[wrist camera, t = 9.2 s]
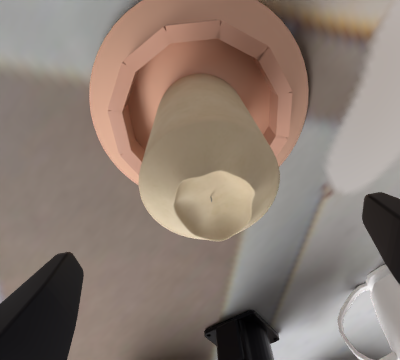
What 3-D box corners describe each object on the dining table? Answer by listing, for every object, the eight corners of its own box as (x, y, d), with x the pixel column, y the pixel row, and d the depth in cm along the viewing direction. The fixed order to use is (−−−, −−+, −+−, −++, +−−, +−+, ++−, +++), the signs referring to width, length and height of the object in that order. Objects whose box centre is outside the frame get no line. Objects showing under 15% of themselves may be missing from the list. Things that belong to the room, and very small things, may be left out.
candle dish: (336, 133, 20) (353, 147, 18) (179, 225, 24) (179, 245, 22) (234, -84, 14) (243, -100, 12) (44, 87, 17) (25, 97, 15)
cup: (426, 285, 29) (499, 370, 22) (332, 316, 31) (373, 402, 25) (418, 242, 26) (502, 326, 19) (314, 280, 28) (356, 368, 21)
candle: (140, 105, 18) (96, 194, 9) (214, 52, 16) (244, 99, 8) (189, 168, 20) (191, 283, 12) (257, 127, 19) (316, 225, 10)
